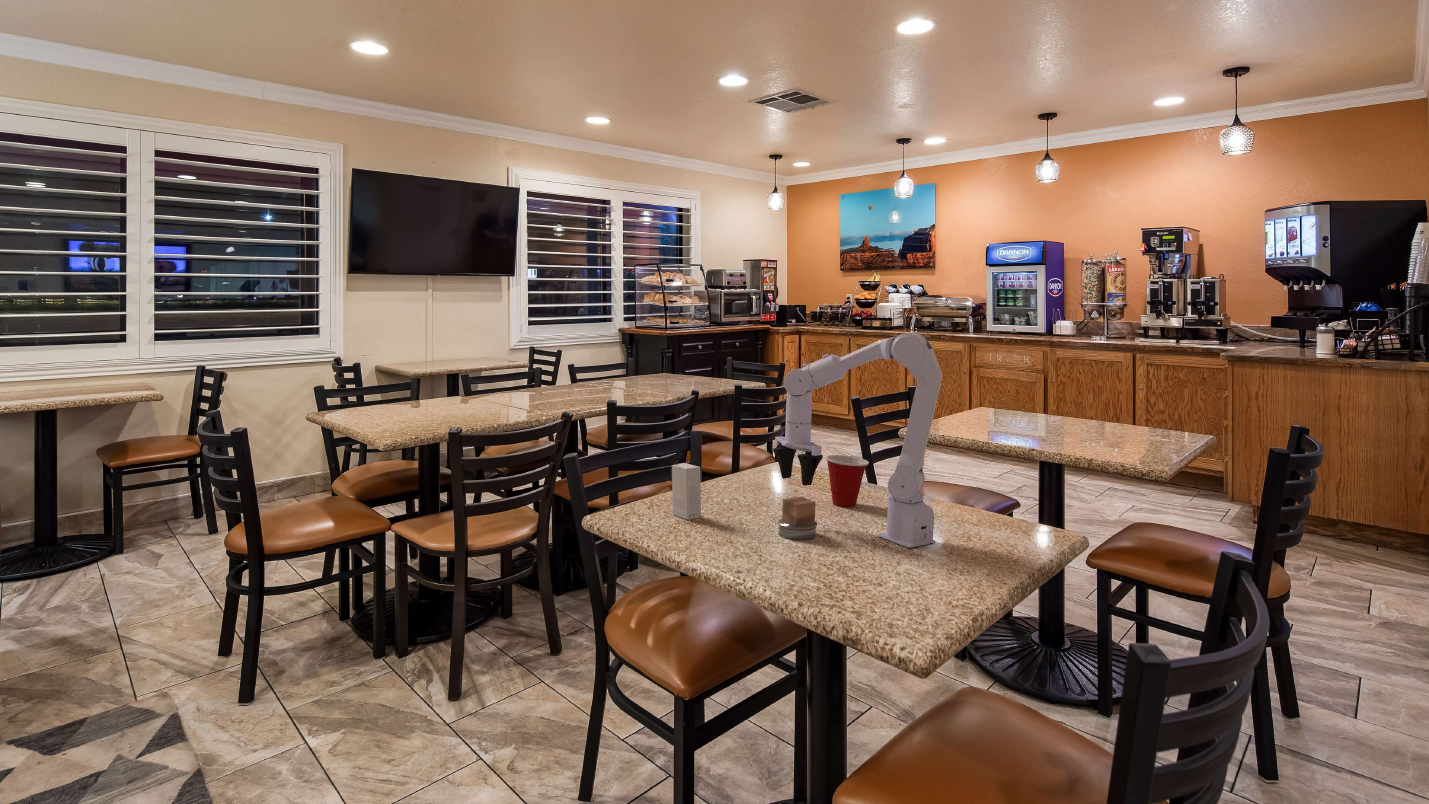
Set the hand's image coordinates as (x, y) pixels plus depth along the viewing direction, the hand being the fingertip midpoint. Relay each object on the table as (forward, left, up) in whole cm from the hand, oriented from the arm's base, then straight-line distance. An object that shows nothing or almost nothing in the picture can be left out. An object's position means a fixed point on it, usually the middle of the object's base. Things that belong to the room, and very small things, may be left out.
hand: (796, 481), depth 169 cm
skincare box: (+17, +19, -10) cm, 27 cm away
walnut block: (-7, +4, -7) cm, 11 cm away
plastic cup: (+8, -22, -10) cm, 25 cm away
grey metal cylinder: (-7, +5, -10) cm, 13 cm away
